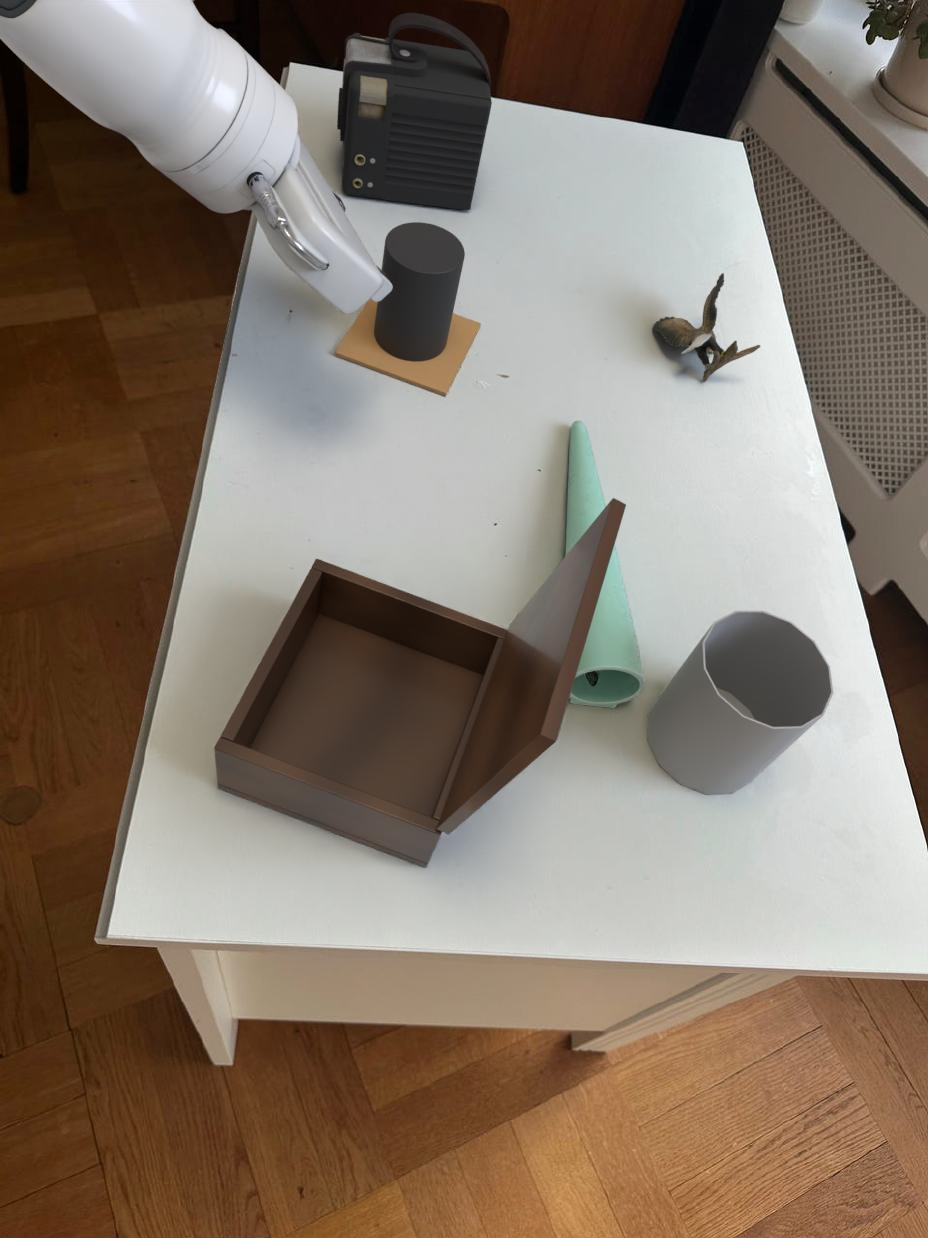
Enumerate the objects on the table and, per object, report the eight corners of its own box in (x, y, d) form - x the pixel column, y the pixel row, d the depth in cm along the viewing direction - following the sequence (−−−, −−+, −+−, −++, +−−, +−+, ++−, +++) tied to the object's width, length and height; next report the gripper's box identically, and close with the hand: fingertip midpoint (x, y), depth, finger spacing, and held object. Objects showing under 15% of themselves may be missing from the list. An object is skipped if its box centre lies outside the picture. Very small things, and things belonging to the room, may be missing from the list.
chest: (217, 788, 57) (213, 748, 52) (312, 606, 65) (316, 557, 61) (426, 868, 57) (441, 835, 52) (494, 675, 65) (513, 631, 60)
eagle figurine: (761, 368, 87) (725, 290, 90) (760, 329, 80) (721, 247, 83) (683, 402, 89) (649, 325, 91) (675, 367, 82) (639, 285, 85)
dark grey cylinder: (391, 367, 79) (404, 278, 72) (362, 317, 82) (372, 226, 75) (458, 354, 82) (478, 266, 74) (428, 306, 84) (444, 217, 77)
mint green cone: (626, 385, 76) (657, 672, 61) (606, 433, 80) (629, 711, 65) (562, 375, 75) (576, 663, 60) (544, 423, 80) (554, 703, 65)
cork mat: (334, 355, 79) (335, 352, 79) (376, 288, 85) (377, 285, 85) (445, 396, 79) (446, 393, 79) (480, 326, 85) (481, 323, 84)
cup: (734, 818, 62) (806, 755, 54) (627, 750, 64) (681, 679, 56) (777, 726, 67) (849, 656, 59) (676, 665, 68) (733, 587, 60)
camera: (335, 135, 97) (345, -26, 85) (467, 153, 100) (496, 0, 87) (333, 198, 91) (345, 35, 79) (474, 215, 94) (506, 61, 81)
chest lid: (540, 734, 40) (556, 741, 40) (613, 496, 48) (626, 504, 48) (436, 829, 52) (448, 835, 52) (509, 625, 60) (520, 630, 60)
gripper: (321, 198, 54) (446, 310, 66) (213, 14, 63) (340, 142, 75) (246, 273, 56) (380, 370, 68) (152, 85, 65) (285, 199, 77)
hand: (359, 249), depth 71 cm, fingers open, 8 cm apart
